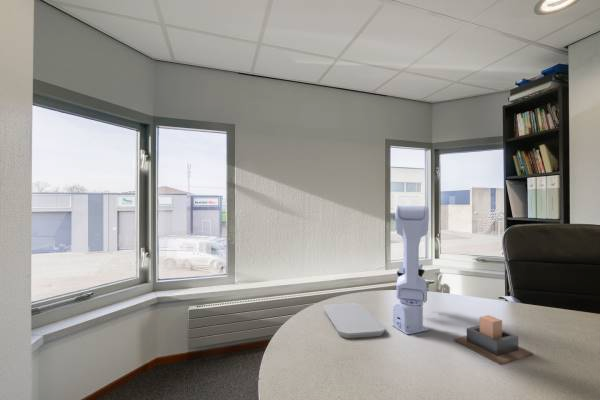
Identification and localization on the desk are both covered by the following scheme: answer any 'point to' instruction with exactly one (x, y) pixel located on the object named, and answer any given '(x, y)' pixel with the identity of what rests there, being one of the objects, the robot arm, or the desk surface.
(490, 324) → the peg
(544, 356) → the desk surface
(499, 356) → the socket board
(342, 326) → the tablet
